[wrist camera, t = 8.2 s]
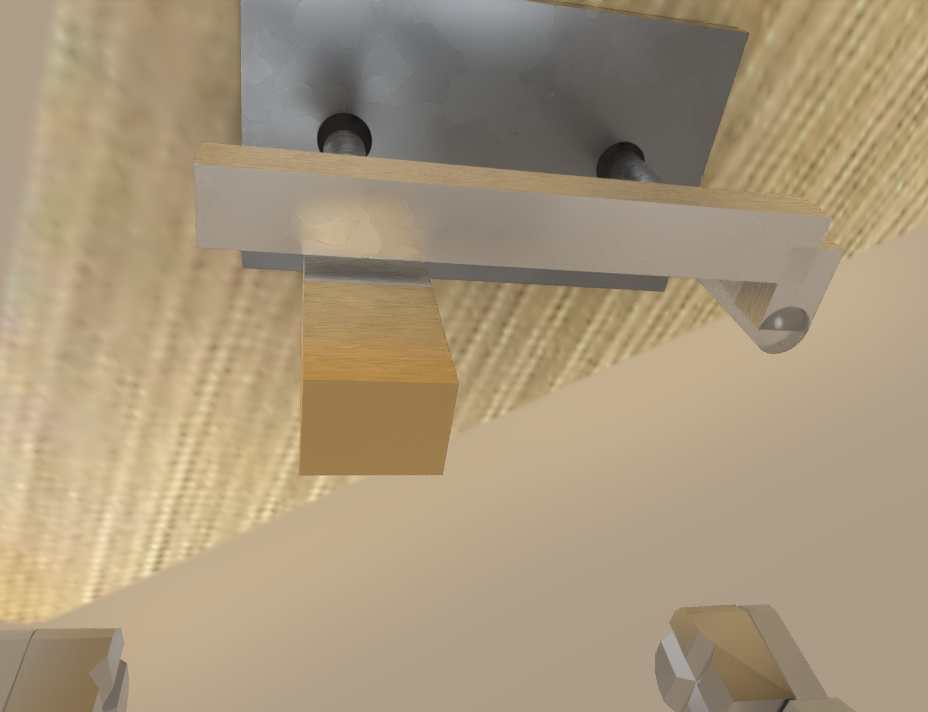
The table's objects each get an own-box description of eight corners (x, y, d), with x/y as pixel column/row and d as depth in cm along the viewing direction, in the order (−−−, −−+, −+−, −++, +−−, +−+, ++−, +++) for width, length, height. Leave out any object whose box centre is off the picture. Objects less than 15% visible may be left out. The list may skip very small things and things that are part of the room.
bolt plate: (735, 27, 32) (749, 33, 31) (654, 280, 38) (664, 292, 37) (242, -44, 27) (240, -41, 26) (244, 255, 34) (242, 268, 33)
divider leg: (384, 118, 29) (458, 383, 15) (378, 177, 31) (442, 474, 16) (305, 110, 29) (303, 379, 14) (303, 170, 30) (299, 475, 15)
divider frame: (660, 87, 31) (858, 219, 20) (632, 185, 34) (796, 354, 22) (240, 35, 28) (193, 163, 16) (241, 150, 30) (201, 332, 19)
